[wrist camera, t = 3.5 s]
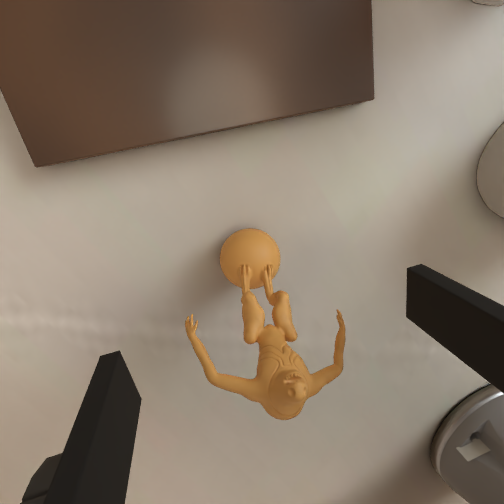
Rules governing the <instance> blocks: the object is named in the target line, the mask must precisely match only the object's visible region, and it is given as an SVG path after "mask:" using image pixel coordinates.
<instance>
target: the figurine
mask: <svg viewBox="0 0 504 504" xmlns="http://www.w3.org/2000/svg"><path fill="white" fill-rule="evenodd" d="M220 265H221V268H222V271H223V273H224V275H225V276H226V278H227V279H228V280H229V281H230V282H232V283H233V284H234V285H236V286H238V287H241V288H242V294H243V296H242V298H241V302H242V304H243V306H242V317H243V321H244V340H245V342H246V343H247V344H253V343H255V342H257V343H259V352H260V354H259V359H258V366H257V376H256V377H255V378H254V379H245V378H241V377H236V376H232V375H227V374H220V373H218V372H217V371H216V369H215V366H214V364H213V363H212V361H211V360H210V358H209V356H208V353H207V351H206V349H205V347H204V345H203V344H202V342H201V341H200V340H199V339H198V338H197V336H196V335H195V331H196V329H197V325H198V320H197V321H196V323H195V325H194V326H193V314H192V315H191V321H189V316H188V317H187V320H186V321H185V327H186V332H187V336H188V338H189V340H190V341H191V343H192V346H193V349H194V351H195V353H196V355H197V357H198V359H199V360H200V362H201V364H202V366H203V369H204V372H205V375H206V378H207V379H208V381H209V382H210V383H211V384H213V385H214V386H216V387H219V388H222V389H224V390H227V391H230V392H234V393H238V394H241V395H243V396H244V397H246V398H247V399H249V400H251V401H255V402H259V403H261V405H262V406H263V407H264V409H265V410H266V411H267V413H268V414H269V415H271V416H272V417H274V418H276V419H280V420H288V419H291V418H294V417H296V416H297V415H298V414H299V413H300V412H301V410H302V408H303V405H304V403H305V401H306V400H307V399H308V398H309V397H311V396H313V395H315V394H317V393H318V392H319V391H320V390H321V388H322V387H323V386H324V385H326V384H328V383H329V382H331V381H332V380H334V379H335V378H336V377H338V376H339V375H340V373H341V372H342V370H343V351H344V345H345V325H344V321H343V319H342V315H341V313H340V311H338V309H337V313H338V315H337V320H338V322H339V326H340V328H339V331H338V333H337V336H336V341H335V352H334V364H333V365H331V366H328V367H326V368H324V369H321V370H319V371H317V372H315V373H313V374H310V373H309V371H308V369H307V367H306V366H305V364H304V362H303V360H302V358H301V357H300V356H299V355H298V354H297V353H296V352H294V351H293V350H292V349H291V347H290V346H288V345H287V343H286V341H288V342H293V341H295V340H296V339H297V333H296V331H295V328H294V325H293V323H292V315H291V307H290V304H289V295H288V294H287V293H286V292H284V291H277V292H276V293H273V287H272V279H273V278H274V277H275V275H276V273H277V271H278V269H279V266H280V252H279V248H278V246H277V244H276V242H275V241H274V240H273V238H272V237H271V236H269V235H268V234H267V233H265V232H263V231H261V230H258V229H251V228H249V229H242V230H239V231H237V232H235V233H233V234H232V235H231V236H230V237H229V238H228V239H227V240H226V241H225V243H224V244H223V246H222V249H221V253H220ZM262 286H264V288H265V293H266V297H267V299H268V301H269V303H270V304H271V305H272V306H274V308H273V310H272V318H273V321H274V325H275V326H273V325H270V324H269V325H267V326H265V327H264V321H265V315H264V311H263V309H262V307H261V306H260V305H259V304H258V302H257V299H256V297H255V295H254V294H253V293H252V292H250V289H255V288H259V287H262Z"/></svg>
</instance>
